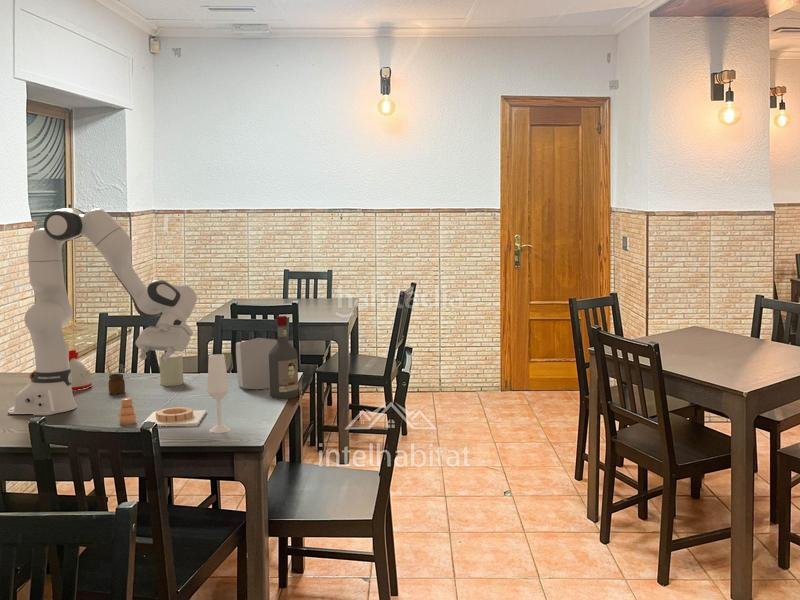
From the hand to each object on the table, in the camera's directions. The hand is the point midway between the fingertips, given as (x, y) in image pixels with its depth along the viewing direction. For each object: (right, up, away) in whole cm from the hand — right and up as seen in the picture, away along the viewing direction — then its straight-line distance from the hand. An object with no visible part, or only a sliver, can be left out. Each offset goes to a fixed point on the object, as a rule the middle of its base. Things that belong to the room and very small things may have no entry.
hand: (152, 359), depth 304 cm
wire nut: (-6, -20, -9) cm, 23 cm away
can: (-7, -13, +54) cm, 56 cm away
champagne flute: (+27, -21, -20) cm, 40 cm away
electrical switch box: (+28, -14, +47) cm, 56 cm away
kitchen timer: (-45, -15, +49) cm, 68 cm away
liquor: (+42, -16, +26) cm, 52 cm away
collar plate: (+9, -20, -6) cm, 23 cm away
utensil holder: (-24, -16, +38) cm, 48 cm away
